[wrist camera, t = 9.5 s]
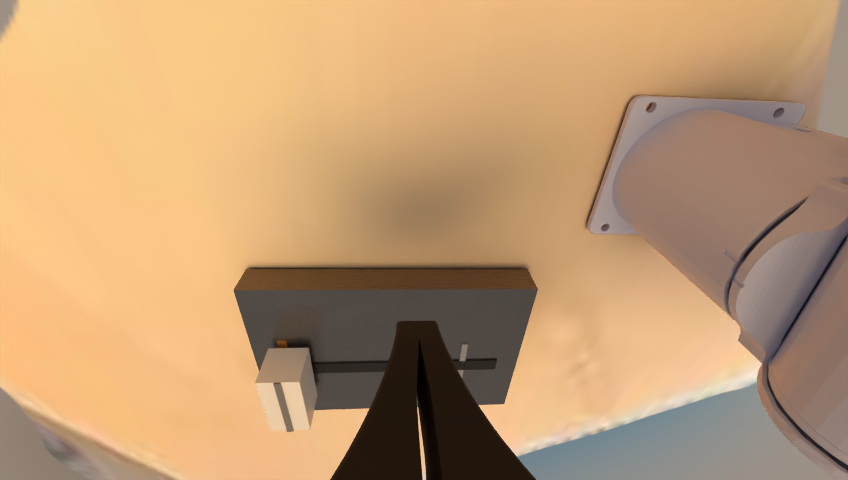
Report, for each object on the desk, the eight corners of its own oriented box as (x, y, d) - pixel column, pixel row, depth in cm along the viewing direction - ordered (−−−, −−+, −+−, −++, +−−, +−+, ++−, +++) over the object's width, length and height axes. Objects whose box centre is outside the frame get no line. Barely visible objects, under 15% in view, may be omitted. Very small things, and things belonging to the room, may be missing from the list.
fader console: (527, 269, 23) (538, 290, 21) (498, 382, 30) (504, 405, 28) (246, 269, 22) (232, 291, 20) (279, 387, 28) (271, 412, 26)
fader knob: (308, 347, 22) (299, 383, 20) (317, 394, 25) (309, 430, 23) (268, 348, 22) (254, 384, 20) (281, 395, 25) (270, 432, 23)
